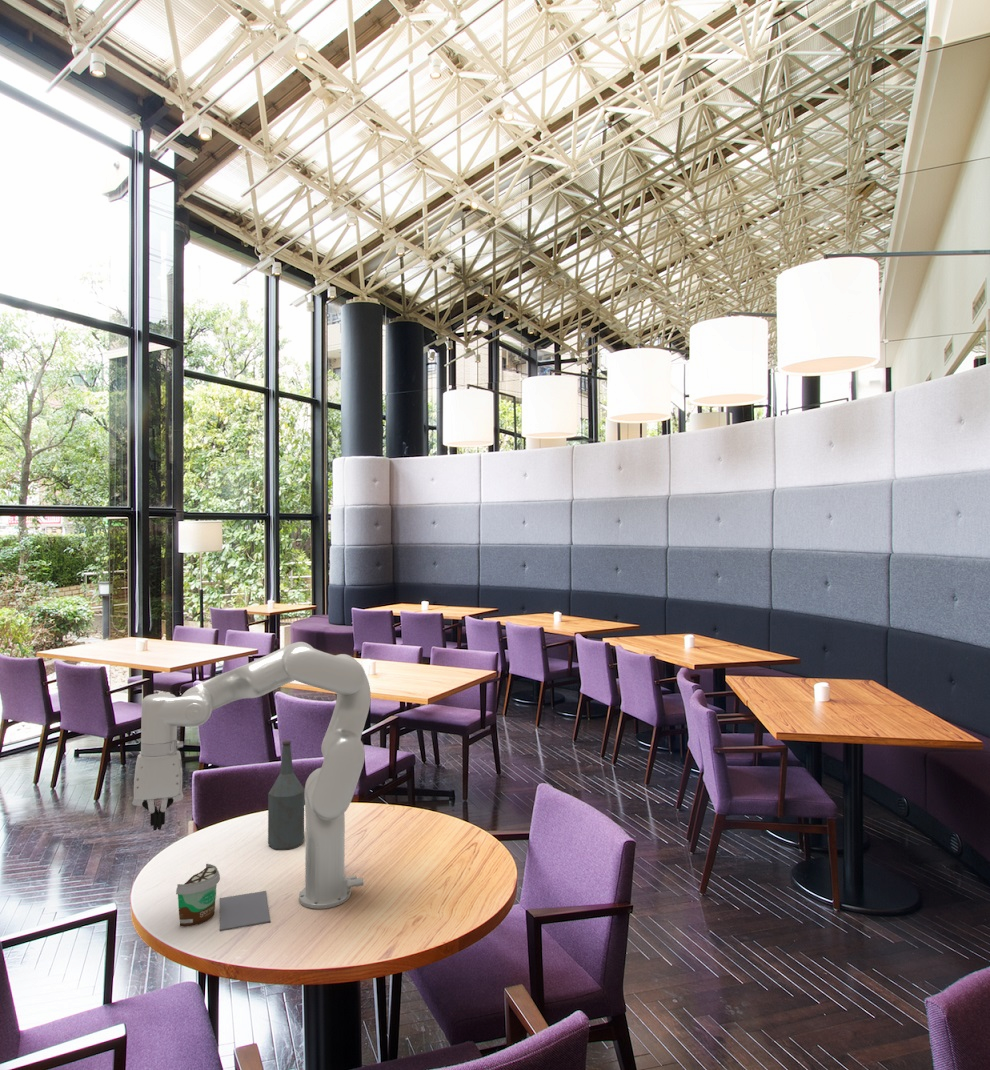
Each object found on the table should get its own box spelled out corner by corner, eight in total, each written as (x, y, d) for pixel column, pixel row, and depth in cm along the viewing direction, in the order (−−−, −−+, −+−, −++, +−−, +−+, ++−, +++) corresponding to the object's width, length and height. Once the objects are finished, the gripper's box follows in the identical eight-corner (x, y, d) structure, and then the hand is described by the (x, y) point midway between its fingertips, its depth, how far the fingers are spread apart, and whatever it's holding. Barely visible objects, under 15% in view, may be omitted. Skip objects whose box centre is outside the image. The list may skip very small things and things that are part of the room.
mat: (266, 892, 185) (266, 890, 185) (270, 922, 170) (270, 920, 170) (219, 899, 181) (219, 898, 181) (219, 931, 166) (219, 929, 166)
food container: (199, 932, 165) (200, 887, 166) (175, 929, 167) (175, 885, 167) (230, 906, 177) (230, 864, 178) (207, 903, 179) (207, 862, 179)
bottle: (262, 842, 216) (263, 740, 217) (293, 834, 223) (293, 734, 223) (278, 853, 208) (279, 747, 209) (309, 844, 215) (310, 741, 215)
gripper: (194, 741, 176) (193, 818, 175) (124, 747, 170) (123, 826, 170) (193, 749, 169) (192, 829, 168) (120, 755, 163) (119, 838, 163)
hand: (157, 828), depth 169 cm, fingers closed
